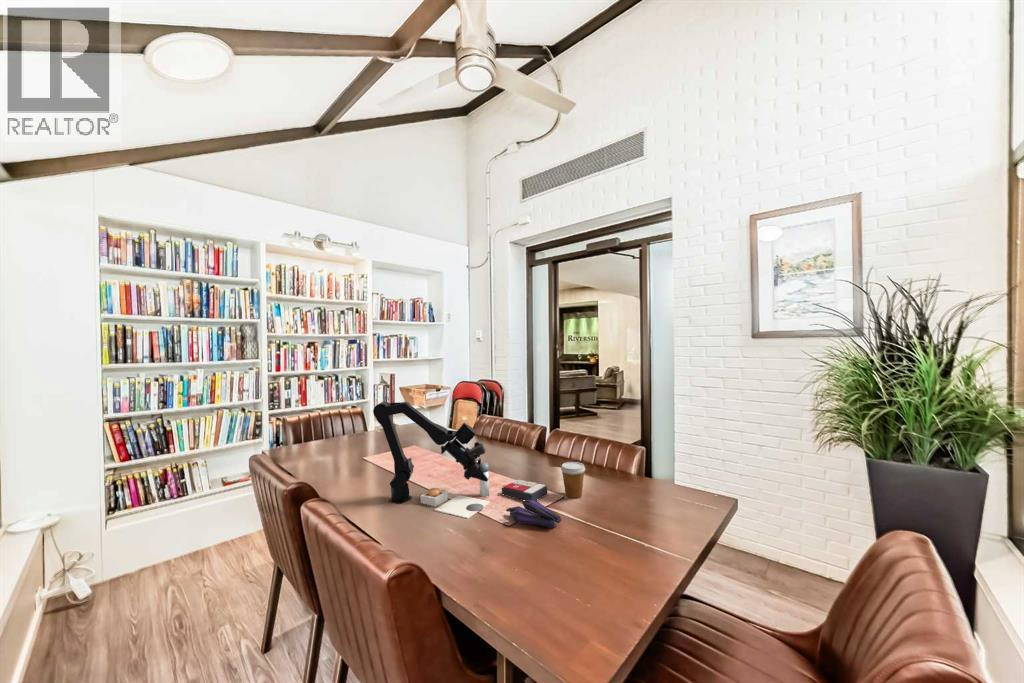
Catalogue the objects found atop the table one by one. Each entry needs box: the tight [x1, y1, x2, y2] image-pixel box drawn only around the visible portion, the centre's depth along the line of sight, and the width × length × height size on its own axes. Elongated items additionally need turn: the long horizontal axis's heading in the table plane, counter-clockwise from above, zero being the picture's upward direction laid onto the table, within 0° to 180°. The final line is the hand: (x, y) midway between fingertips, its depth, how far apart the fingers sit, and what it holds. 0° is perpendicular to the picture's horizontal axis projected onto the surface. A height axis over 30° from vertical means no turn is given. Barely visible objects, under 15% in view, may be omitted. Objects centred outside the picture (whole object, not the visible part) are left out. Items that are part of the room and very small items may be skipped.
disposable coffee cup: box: [560, 461, 586, 500], centre depth 159 cm, size 10×10×12 cm
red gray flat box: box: [501, 479, 548, 501], centre depth 162 cm, size 11×4×15 cm
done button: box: [427, 487, 441, 497], centre depth 157 cm, size 4×4×2 cm
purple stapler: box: [505, 499, 562, 530], centre depth 138 cm, size 7×12×20 cm
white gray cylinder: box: [479, 462, 490, 498], centre depth 162 cm, size 4×4×12 cm
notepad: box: [434, 494, 491, 519], centre depth 152 cm, size 16×15×1 cm
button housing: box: [420, 490, 448, 508], centre depth 157 cm, size 7×7×3 cm
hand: (487, 478), depth 162 cm, fingers closed on white gray cylinder, 4 cm apart
